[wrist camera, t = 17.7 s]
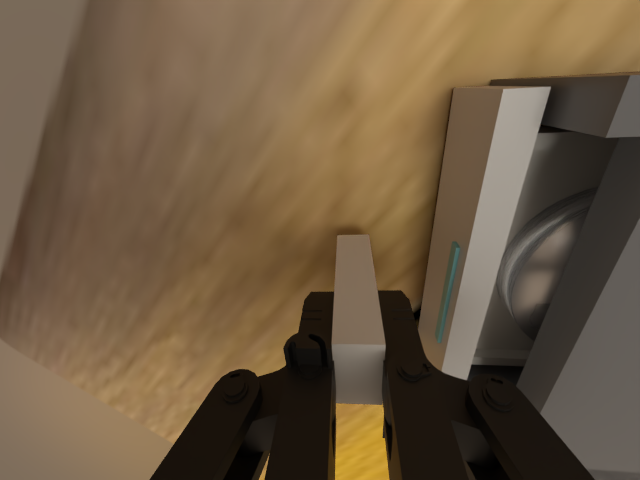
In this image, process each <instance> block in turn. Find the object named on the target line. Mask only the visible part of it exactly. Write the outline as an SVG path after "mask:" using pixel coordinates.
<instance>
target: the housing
mask: <svg viewBox="0 0 640 480" xmlns="http://www.w3.org/2000/svg"><path fill="white" fill-rule="evenodd" d="M490 86H542V87H551V89H550V92H549V96H548V99H547V103H546V106H545V110H544V113H543V117H542V120H541V124H542V125H547V126H552V127H556V128H561V129H566V130H571V131H576V132H581V133H585V134H590V135H595V136H600V137H605V138H613V137H619V139H618V142H617V144H616V147H615V149H614V151H613V154H612V156H611V159H610V161H609V163H608V166H607V168H606V171H605V173H604V175H603V178H602V180H601V183H600V185H599V188H598V190H597V192H596V195H595V197H594V200H593V202H592V204H591V207H590V209H589V212H588V214H587V216H586V219H585V221H584V224H583V226H582V228H581V231H580V233H579V236H578V238H577V241H576V243H575V245H574V248H573V250H572V253H571V255H570V257H569V260H568V262H567V265H566V267H565V269H564V272H563V274H562V277H561V279H560V282H559V284H558V286H557V289H556V291H555V294H554V296H553V298H552V301H551V303H550V306H549V308H548V310H547V313H546V315H545V318H544V320H543V323H542V325H541V327H540V330H539V332H538V335H537V337H536V339H535V342H534V344H533V347H532V349H531V351H530V354H529V356H528V359H527V361H526V364H525V366H500V365H474V364H471V368H470V371H469V375H468V378H467V381H471V380H472V378H473V377H475V376H477V375H479V374H493V375H497V376H500V377H503V378H504V379H506V380H508V381H510V382H512V383H513V384H514V385H515V386H516V387H517V388H518V389H519V390H521V391H522V393H523V394H524V395H525V396H526V397H527V399H528V400H529V401H530V402H531V403H532V405H533V406H534V407H535V408H536V409H537V411H538V412H539V413H540V414H541V415H542V417H543V418H544V419H545V420H546V421H547V423H548V424H549V425H550V426H551V427H552V429H553V430H554V431H555V432H556V433H557V434H558V436H559V437H560V438H561V439H562V440H563V442H564V443H565V444H566V445H567V446H568V448H569V449H570V450H571V451H572V452H573V454H574V455H575V456H576V457H577V458H578V460H579V461H580V462H581V463H582V464H583V466H584V467H585V468H586V469H587V470H588V472H589V473H590V474H591V475H592V476H593V478H594V479H595V480H640V72H623V73H605V74H587V75H569V76H551V77H532V78H514V79H496V80H491V83H490Z"/></svg>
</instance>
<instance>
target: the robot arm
mask: <svg viewBox="0 0 640 480" xmlns="http://www.w3.org/2000/svg"><path fill="white" fill-rule="evenodd" d="M283 349H284V354H285V360H286V366H285V367H283V368H281V369H280V370H278V371H275V372H273V373H269V374H266V375H262V376H259V377H257V376H256V374H255V373H253V372H251V371H250V370H245V369H238V370H235V371H231V372H229V373H228V374H226V375H224V376H223V377H221V379H220V380H219V381H218V382H217V383H216V384H215V385H214V387H213V388H212V390H211V391H210V393H209V394H208V396H207V397H206V398H205V400H204V401H203V403H202V404H201V406H200V407H199V409H198V410H197V412H196V413H195V414H194V416H193V417H192V419H191V420H190V422H189V423H188V425H187V426H186V428H185V429H184V430H183V432H182V433H181V435H180V436H179V438H178V439H177V441H176V442H175V444H174V445H173V447H172V448H171V449H170V451H169V452H168V454H167V455H166V457H165V458H164V460H163V461H162V462H161V464H160V465H159V467H158V468H157V470H156V471H155V473H154V474H153V476H152V477H151V478H150V480H259V477H260V475H261V473H262V470H263V468H264V465H265V463H266V461H267V458H268V456H269V460H268V465H267V470H266V475H265V480H335V451H336V403H346V404H376V405H382V402H383V407H384V425H383V438H385V442H386V451H387V460H388V469H389V479H390V480H595V479H594V478H593V476H592V475H591V474H590V473H589V472H588V470H587V469H586V468H585V467H584V466H583V464H582V463H581V462H580V461H579V460H578V458H577V457H576V456H575V455H574V454H573V452H572V451H571V450H570V449H569V448H568V446H567V445H566V444H565V443H564V442H563V440H562V439H561V438H560V437H559V436H558V434H557V433H556V432H555V431H554V430H553V429H552V427H551V426H550V425H549V424H548V423H547V421H546V420H545V419H544V418H543V417H542V415H541V414H540V413H539V412H538V411H537V409H536V408H535V407H534V406H533V405H532V403H531V402H530V401H529V400H528V399H527V397H526V396H525V395H524V394H523V393H522V391H521V390H519V389H518V388H517V387H516V386H515V385H514V384H513V383H512V382H510V381H508V380H506V379H504V378H503V377H500V376H497V375H493V374H479V375H477V376H475V377H473V378H472V380H471V381H467V380H464V379H460V378H457V377H454V376H451V375H448V374H446V373H443V372H442V371H440V370H438V369H437V368H436V367H435V366H433V365H432V363H431V362H430V361H429V360H428V359H427V357H426V355H425V353H424V349H423V346H422V342H421V339H420V336H419V332H418V329H417V325H416V322H415V320H414V315H413V312H412V308H411V304H410V301H409V299H408V298H407V297H406V295H405V294H404V293H403V292H402V291H401V290H400V291H377V284H376V278H375V271H374V264H373V258H372V251H371V245H370V238H369V234H366V235H337V251H336V270H335V288H334V292H311V293H310V294H309V295H308V296H307V298H306V299H305V300H304V305H303V312H302V316H301V321H300V326H299V332H298V333H297V334H295V335H293V336H292V337H290V338H289V339H288V340H287V342H286V344H285V346H284V348H283ZM269 453H270V455H269Z"/></svg>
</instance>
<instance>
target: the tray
mask: <svg viewBox="0 0 640 480" xmlns="http://www.w3.org/2000/svg"><path fill="white" fill-rule="evenodd" d="M550 89H551V87H542V86H474V87H455V88H454V90H453V97H452V104H451V110H450V117H449V124H448V131H447V137H446V144H445V151H444V158H443V164H442V171H441V178H440V185H439V192H438V198H437V205H436V212H435V219H434V225H433V232H432V239H431V246H430V252H429V259H428V266H427V273H426V279H425V286H424V293H423V300H422V306H421V313H420V320H419V327H418V332H419V336H420V339H421V342H422V346H423V349H424V353H425V355H426V357H427V359H428V360H429V361H430V362H431V363H432V365H433V366H435V367H436V368H437V369H438V370H440V371H442V372H443V373H446V374H448V375H451V376H454V377H457V378H460V379H464V380H467V378H468V375H469V371H470V368H471V364H474V365H500V366H525V364H526V361H527V359H528V356H529V354H530V351H531V349H532V347H533V344H534V342H535V341H533V340H532V339H530V338H529V337H528V336H527V335H526V334H525V333H524V332H523V331H522V330H521V328H520V327H519V326H518V324H517V323H516V321H515V320H514V319H513V317H512V316H511V314H510V313H509V311H508V310H507V309H506V307H505V306H504V304H503V303H502V301H501V299H500V297H499V294H498V290H497V283H496V278H497V274H498V270H499V267H500V263H501V260H502V256H503V253H504V251H505V249H506V248H507V246H508V244H509V243H510V242H511V240H512V239H513V238H514V236H515V235H516V234H517V233H518V232H519V231H520V230H521V229H522V228H523V226H524V225H526V224H527V223H528V222H529V221H530V220H531V219H533V218H534V217H535V216H536V215H538V214H539V213H540V212H542V211H543V210H545V209H546V208H548V207H550V206H551V205H553V204H555V203H556V202H558V201H560V200H562V199H564V198H567V197H569V196H571V195H573V194H576V193H579V192H582V191H584V190H587V189H591V188H595V187H599V185H600V183H601V180H602V178H603V175H604V173H605V171H606V168H607V166H608V163H609V161H610V159H611V156H612V154H613V151H614V149H615V147H616V144H617V142H618V139H619V137H613V138H605V137H600V136H595V135H590V134H585V133H581V132H576V131H571V130H566V129H561V128H556V127H552V126H544V127H540V124H541V120H542V117H543V113H544V110H545V106H546V103H547V99H548V96H549V92H550Z"/></svg>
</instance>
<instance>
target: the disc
mask: <svg viewBox="0 0 640 480" xmlns="http://www.w3.org/2000/svg"><path fill="white" fill-rule="evenodd" d="M598 188H599V187H595V188H591V189H587V190H584V191H582V192H579V193H576V194H573V195H571V196H569V197H567V198H564V199H562V200H560V201H558V202H556V203H555V204H553V205H551V206H550V207H548V208H546V209H545V210H543V211H542V212H540V213H539V214H538V215H536V216H535V217H534V218H533V219H531V220H530V221H529V222H528V223H527V224H526V225H524V226H523V228H522V229H521V230H520V231H519V232H518V233H517V234H516V235H515V236H514V238H513V239H512V240H511V242H510V243H509V244H508V246H507V248H506V249H505V251H504V253H503V256H502V260H501V263H500V267H499V270H498V274H497V278H496V283H497V290H498V294H499V297H500V299H501V301H502V303H503V304H504V306H505V307H506V309H507V310H508V311H509V313H510V314H511V316H512V317H513V319H514V320H515V321H516V323H517V324H518V326H519V327H520V328H521V330H522V331H523V332H524V333H525V334H526V335H527V336H528V337H529V338H530V339H532V340H533V341H535V339H536V337H537V335H538V332H539V330H540V327H541V325H542V323H543V320H544V318H545V315H546V313H547V310H548V308H549V306H550V303H551V301H552V298H553V296H554V294H555V291H556V289H557V286H558V284H559V282H560V279H561V277H562V274H563V272H564V269H565V267H566V265H567V262H568V260H569V257H570V255H571V253H572V250H573V248H574V245H575V243H576V241H577V238H578V236H579V233H580V231H581V228H582V226H583V224H584V221H585V219H586V216H587V214H588V212H589V209H590V207H591V204H592V202H593V200H594V197H595V195H596V192H597V190H598Z"/></svg>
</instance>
